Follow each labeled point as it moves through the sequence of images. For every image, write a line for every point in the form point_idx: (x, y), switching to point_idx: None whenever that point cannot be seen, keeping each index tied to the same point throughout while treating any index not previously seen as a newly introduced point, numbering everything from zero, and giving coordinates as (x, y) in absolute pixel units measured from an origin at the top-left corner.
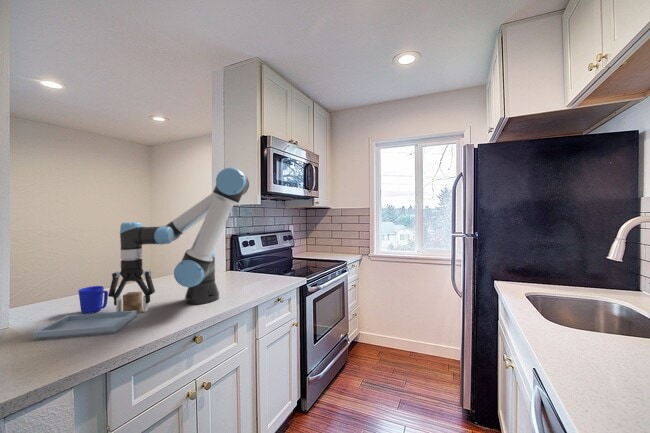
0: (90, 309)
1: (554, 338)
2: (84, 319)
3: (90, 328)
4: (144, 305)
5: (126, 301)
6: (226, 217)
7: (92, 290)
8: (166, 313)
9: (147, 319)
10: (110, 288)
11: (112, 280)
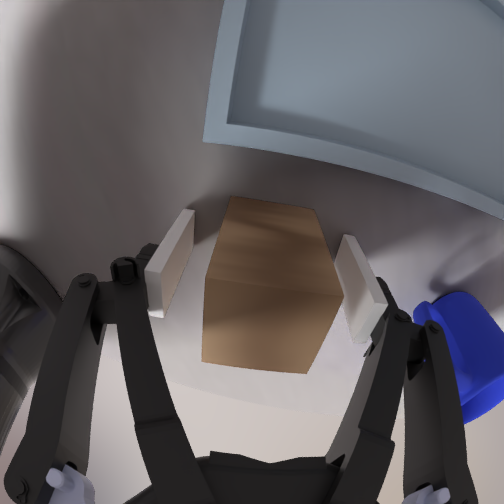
0: (461, 300)
1: None
2: (479, 185)
3: None
4: (174, 229)
5: (302, 253)
6: None
7: (499, 376)
8: (61, 147)
9: (127, 60)
10: (453, 375)
11: (463, 448)
